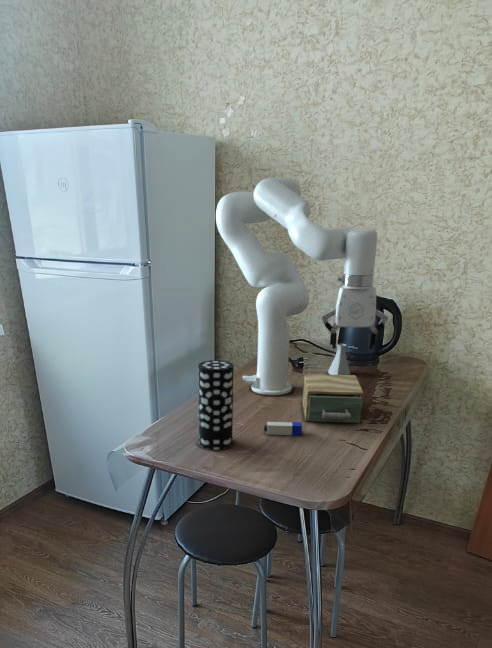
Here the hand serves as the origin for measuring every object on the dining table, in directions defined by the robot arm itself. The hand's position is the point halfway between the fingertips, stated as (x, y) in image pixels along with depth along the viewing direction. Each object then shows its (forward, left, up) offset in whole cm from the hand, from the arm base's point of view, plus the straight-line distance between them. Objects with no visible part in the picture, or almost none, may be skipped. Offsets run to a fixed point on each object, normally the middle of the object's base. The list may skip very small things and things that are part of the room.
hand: (351, 347), depth 156 cm
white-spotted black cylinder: (-35, -26, -19) cm, 47 cm away
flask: (+2, +37, -19) cm, 41 cm away
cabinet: (-4, -1, -18) cm, 19 cm away
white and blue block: (-18, -18, -18) cm, 31 cm away
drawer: (-4, -7, -17) cm, 19 cm away
